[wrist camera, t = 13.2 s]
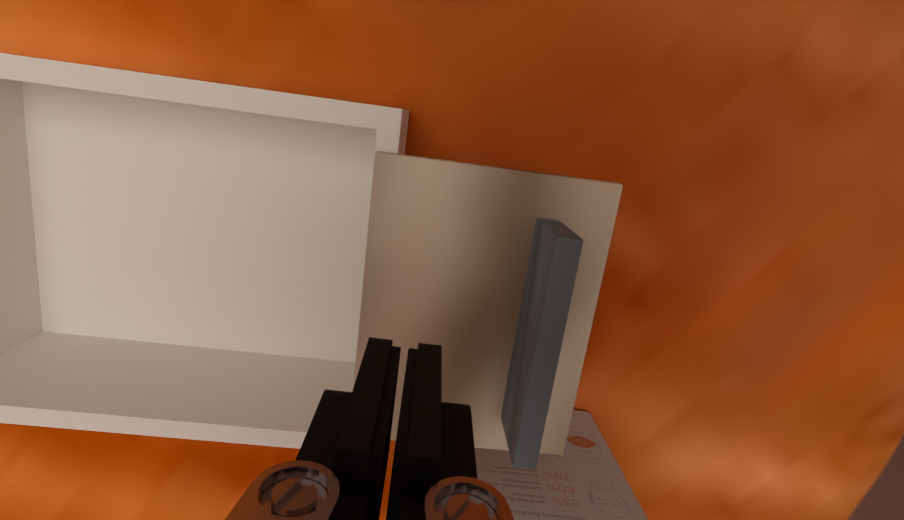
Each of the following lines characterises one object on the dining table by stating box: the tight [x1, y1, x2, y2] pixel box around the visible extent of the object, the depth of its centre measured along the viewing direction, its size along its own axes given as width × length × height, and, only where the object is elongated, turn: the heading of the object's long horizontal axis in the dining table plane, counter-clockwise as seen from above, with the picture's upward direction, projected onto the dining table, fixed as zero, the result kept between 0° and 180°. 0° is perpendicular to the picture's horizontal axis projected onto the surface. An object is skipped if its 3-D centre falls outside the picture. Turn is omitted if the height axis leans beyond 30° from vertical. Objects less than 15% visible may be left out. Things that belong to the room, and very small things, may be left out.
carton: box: [0, 53, 410, 449], centre depth 22 cm, size 18×14×7 cm
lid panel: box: [353, 151, 623, 469], centre depth 18 cm, size 9×11×4 cm
